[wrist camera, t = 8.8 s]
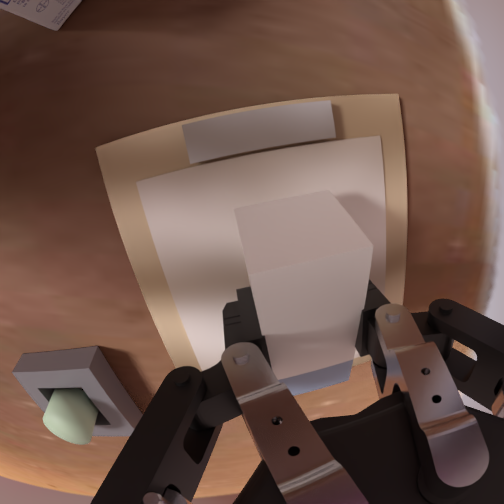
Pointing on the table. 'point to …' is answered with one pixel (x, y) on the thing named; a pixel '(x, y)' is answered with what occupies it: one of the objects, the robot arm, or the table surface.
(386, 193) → the clipboard
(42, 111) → the table surface
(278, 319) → the white carton blue base
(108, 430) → the button housing
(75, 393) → the button
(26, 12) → the medicine box
